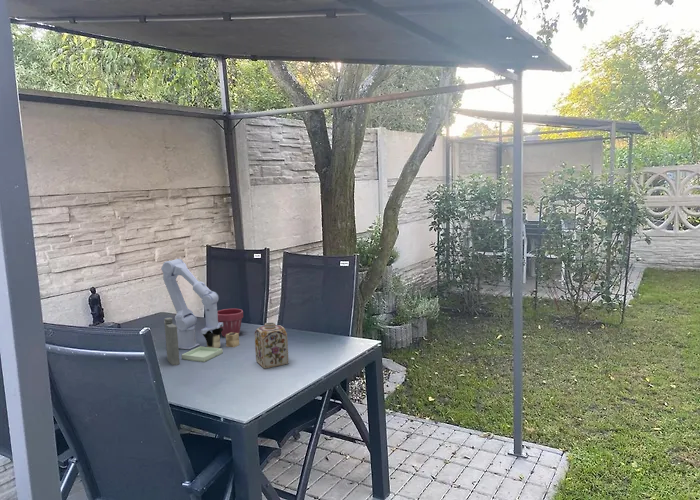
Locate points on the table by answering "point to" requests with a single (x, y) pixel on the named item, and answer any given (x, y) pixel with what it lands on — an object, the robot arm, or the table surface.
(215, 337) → the birch block
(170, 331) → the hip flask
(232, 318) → the plant pot
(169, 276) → the robot arm
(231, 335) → the oak block
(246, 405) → the table surface
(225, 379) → the table surface
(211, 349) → the tray
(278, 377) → the table surface
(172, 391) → the table surface
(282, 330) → the decorative jar
